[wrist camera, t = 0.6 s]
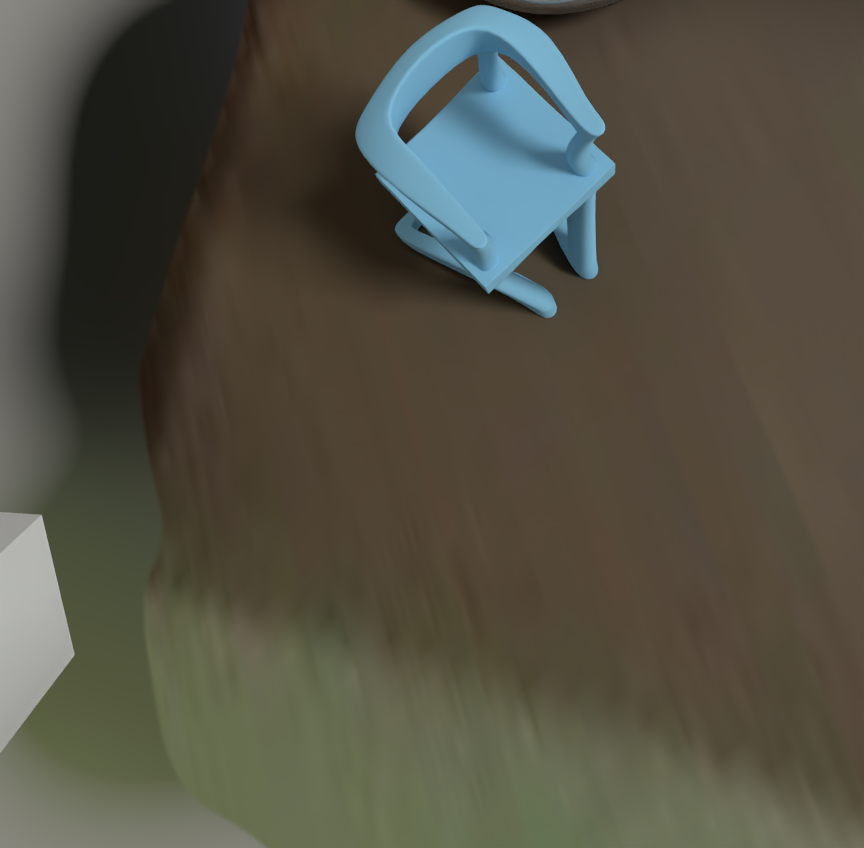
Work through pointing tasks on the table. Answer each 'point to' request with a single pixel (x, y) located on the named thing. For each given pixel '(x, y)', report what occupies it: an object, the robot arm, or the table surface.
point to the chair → (490, 154)
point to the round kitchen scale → (551, 5)
